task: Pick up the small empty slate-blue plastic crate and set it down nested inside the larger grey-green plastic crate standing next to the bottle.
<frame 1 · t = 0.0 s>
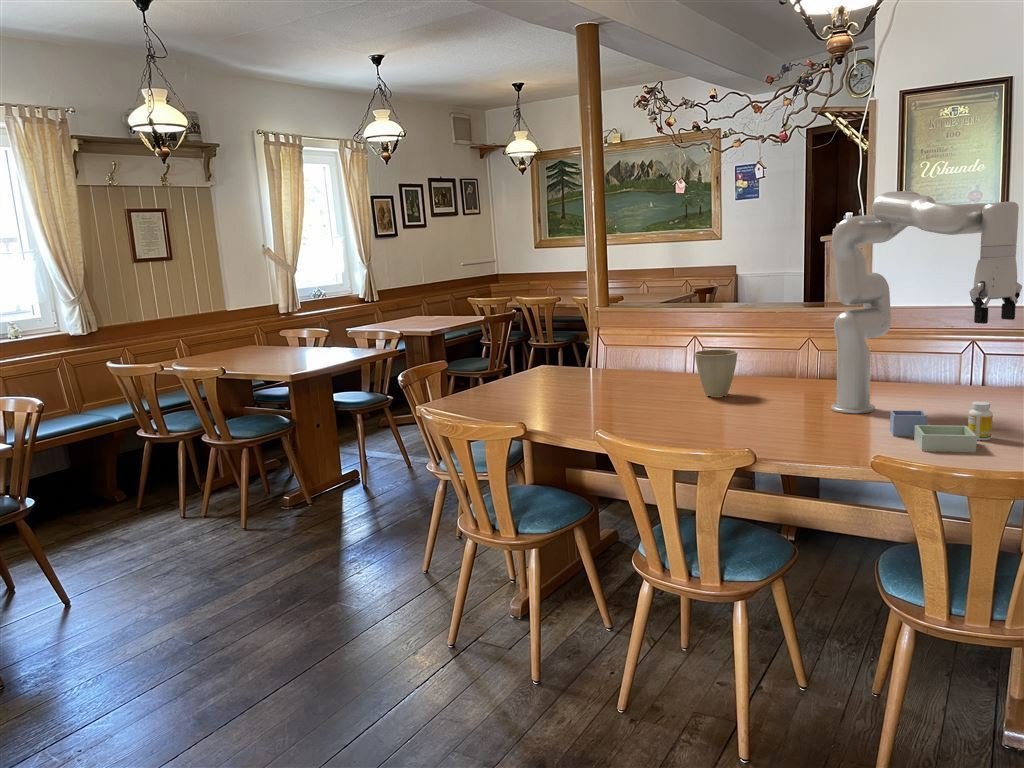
hand: (994, 321, 187), 31 cm above the table, tool pointing down, fingers open, 9 cm apart
supplement bottle: (979, 439, 195), on the table
large crate: (943, 447, 191), on the table
small crate: (907, 434, 204), on the table
plant pot: (716, 396, 268), on the table
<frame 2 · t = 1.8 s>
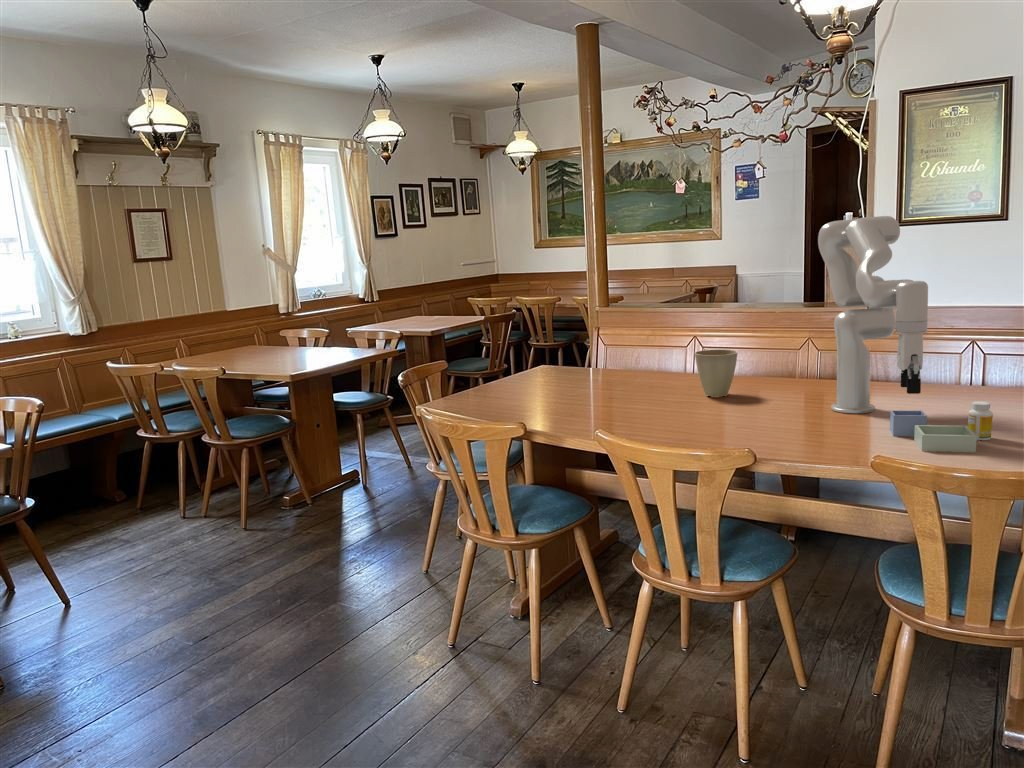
hand: (910, 390, 201), 12 cm above the table, tool pointing down, fingers open, 9 cm apart
nothing on the table moved.
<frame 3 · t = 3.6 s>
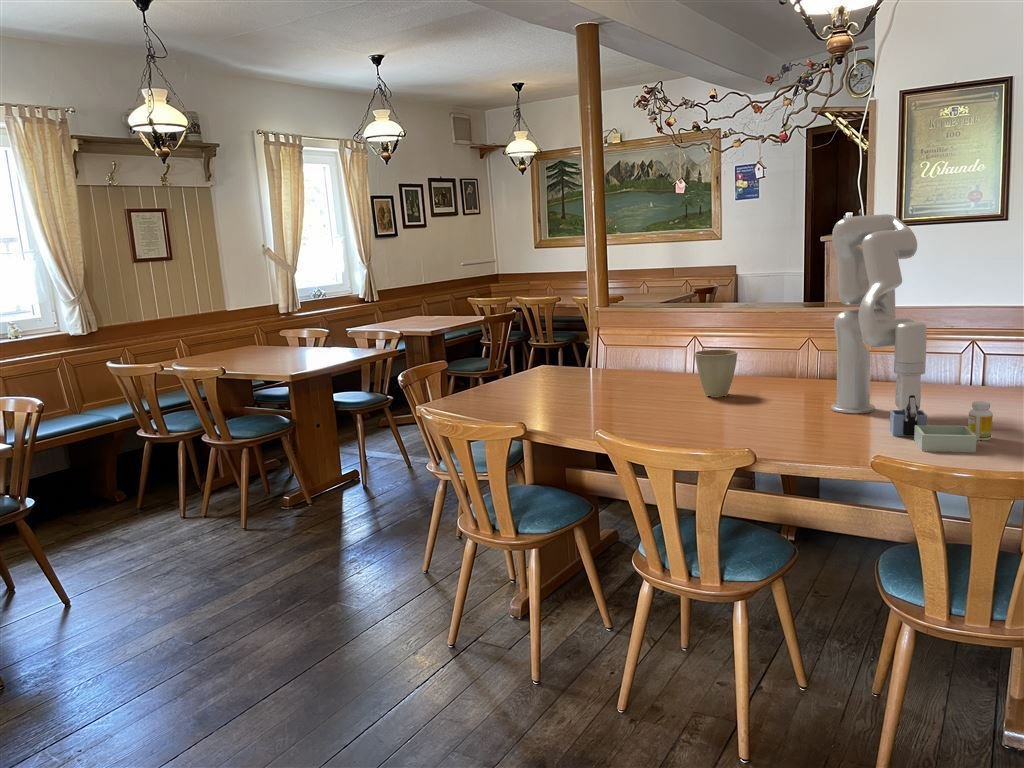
hand: (907, 431, 204), 1 cm above the table, tool pointing down, fingers closed on small crate, 6 cm apart
small crate: (907, 433, 204), on the table, touching gripper
everything else where it was.
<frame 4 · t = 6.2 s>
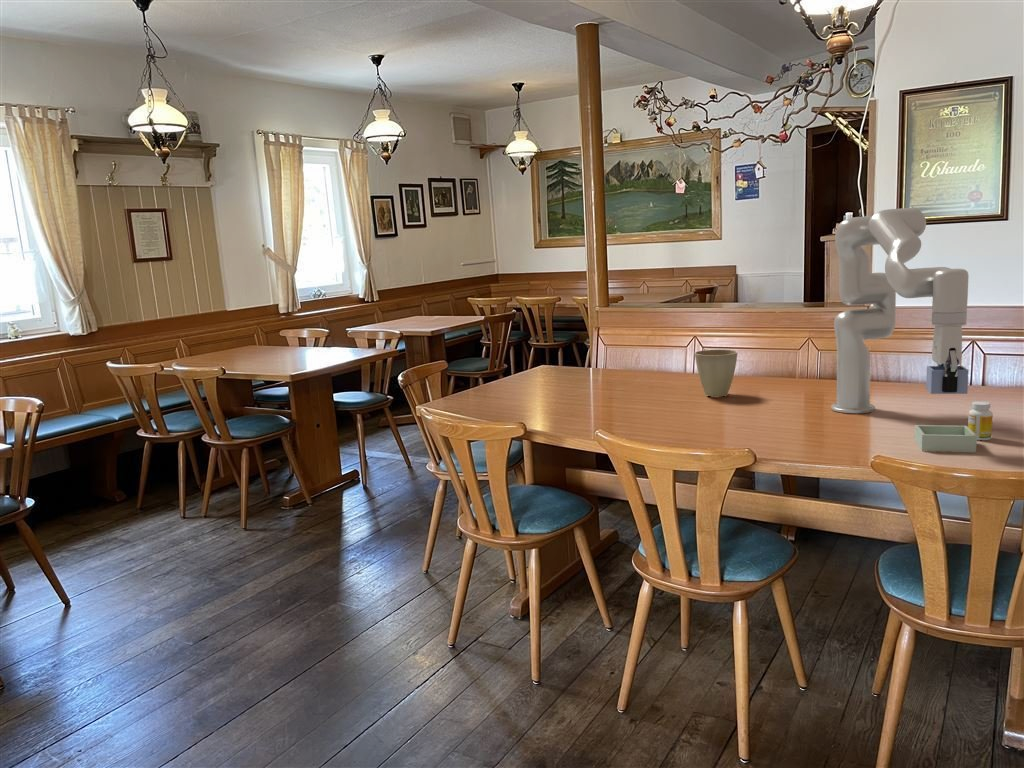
hand: (946, 388, 188), 15 cm above the table, tool pointing down, fingers closed on small crate, 6 cm apart
small crate: (946, 391, 188), point 14 cm above the table, touching gripper
everything else where it was.
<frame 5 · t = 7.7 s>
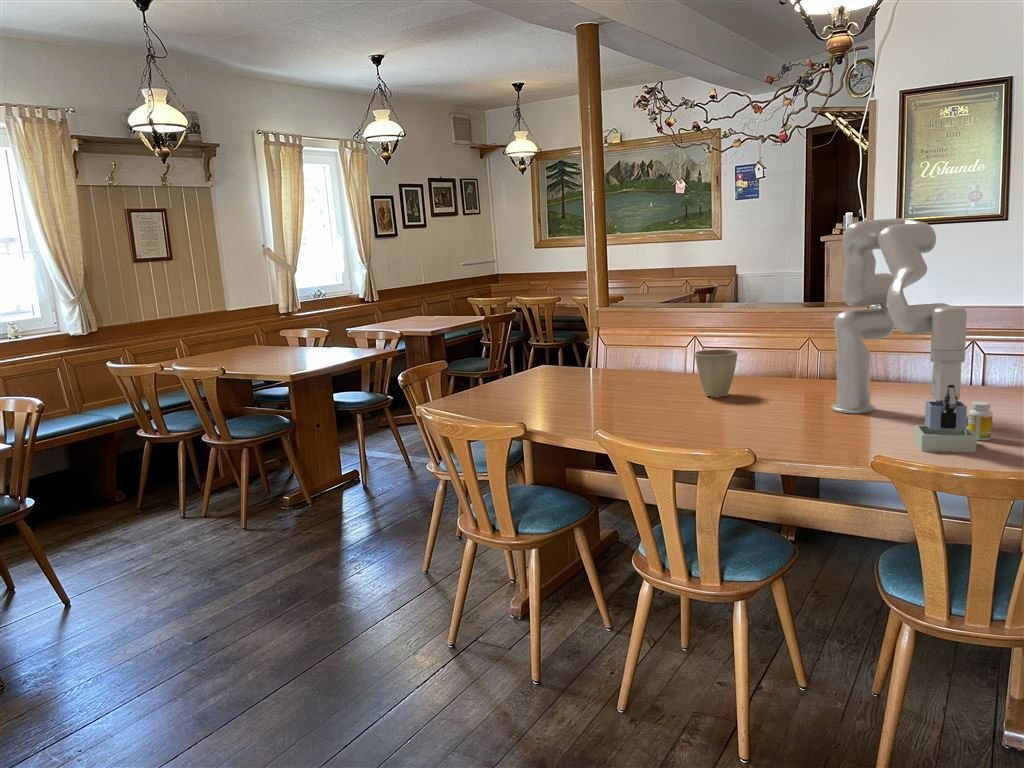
hand: (945, 424, 190), 6 cm above the table, tool pointing down, fingers closed on small crate, 6 cm apart
small crate: (945, 426, 190), point 5 cm above the table, touching gripper
everything else where it was.
when the fingers open (5 cm above the table, at t = 8.9 s): small crate drops 4 cm, resting on large crate.
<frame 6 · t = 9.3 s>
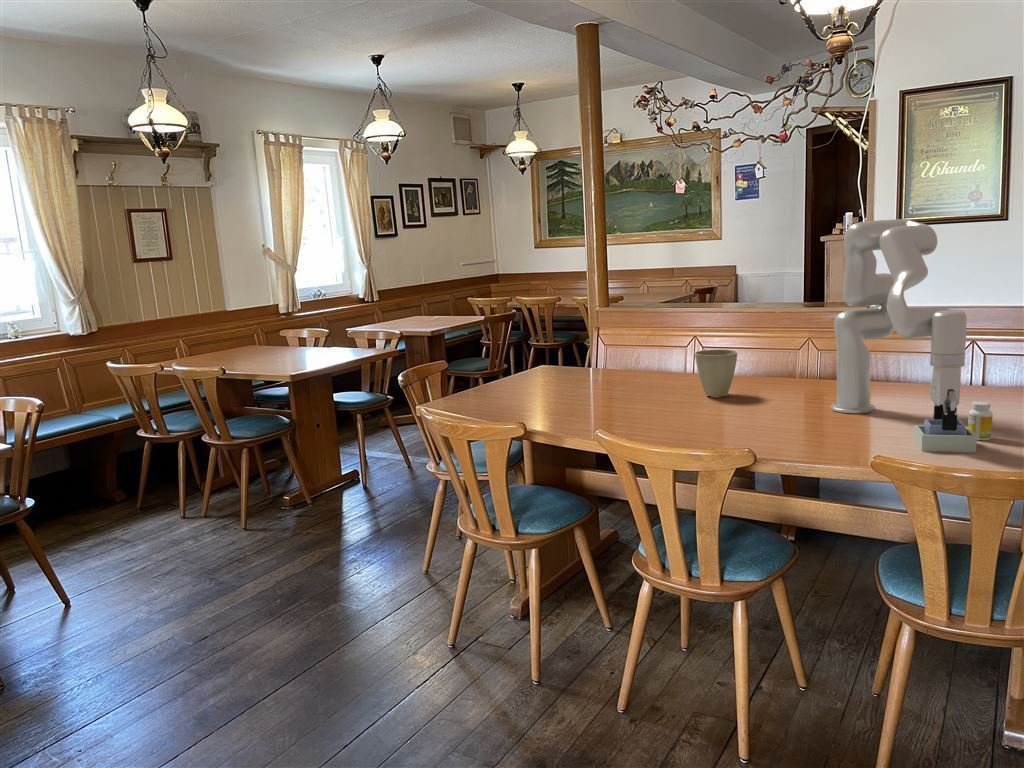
hand: (944, 425, 190), 5 cm above the table, tool pointing down, fingers open, 9 cm apart
large crate: (943, 447, 191), on the table, touching small crate
small crate: (943, 445, 191), resting on large crate
everything else where it was.
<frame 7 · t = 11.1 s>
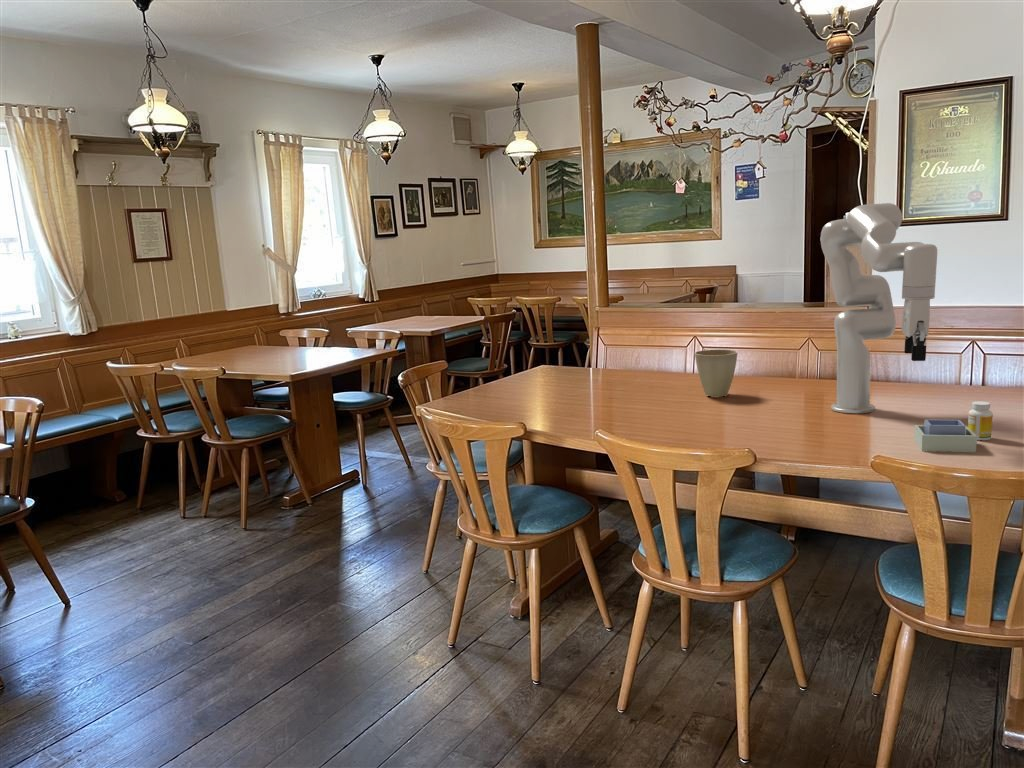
hand: (914, 356, 196), 22 cm above the table, tool pointing down, fingers open, 9 cm apart
nothing on the table moved.
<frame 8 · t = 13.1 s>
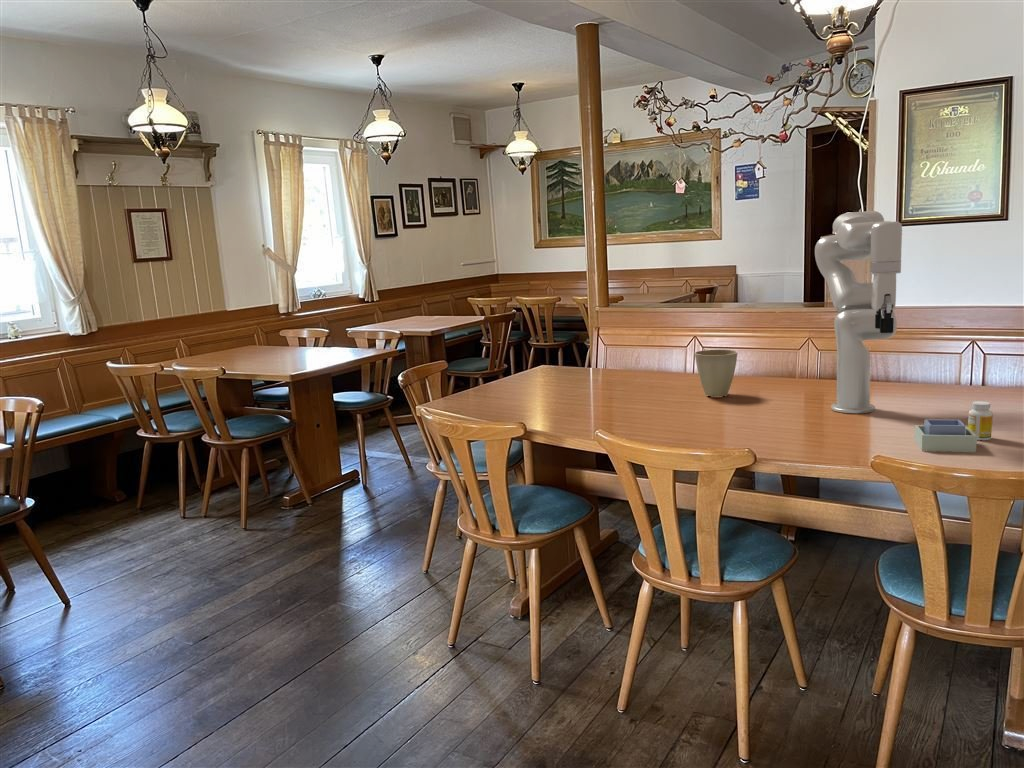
hand: (883, 330, 204), 28 cm above the table, tool pointing down, fingers open, 9 cm apart
nothing on the table moved.
at the end: small crate 0.1 cm off-centre on the large crate, point 0.6 cm above the large crate's base; small crate tilted 0°; the gripper is holding nothing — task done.
